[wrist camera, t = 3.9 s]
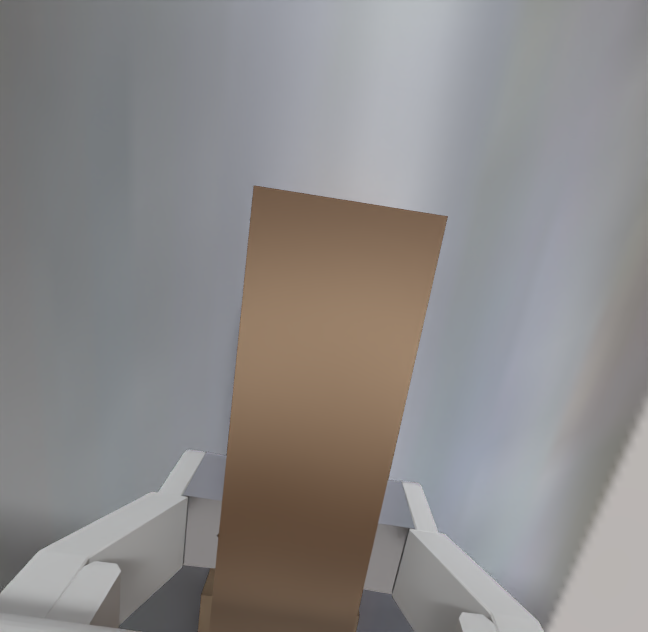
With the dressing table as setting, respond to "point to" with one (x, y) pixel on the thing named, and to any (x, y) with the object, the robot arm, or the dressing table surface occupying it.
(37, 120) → the dressing table surface
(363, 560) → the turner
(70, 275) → the dressing table surface
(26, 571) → the robot arm
